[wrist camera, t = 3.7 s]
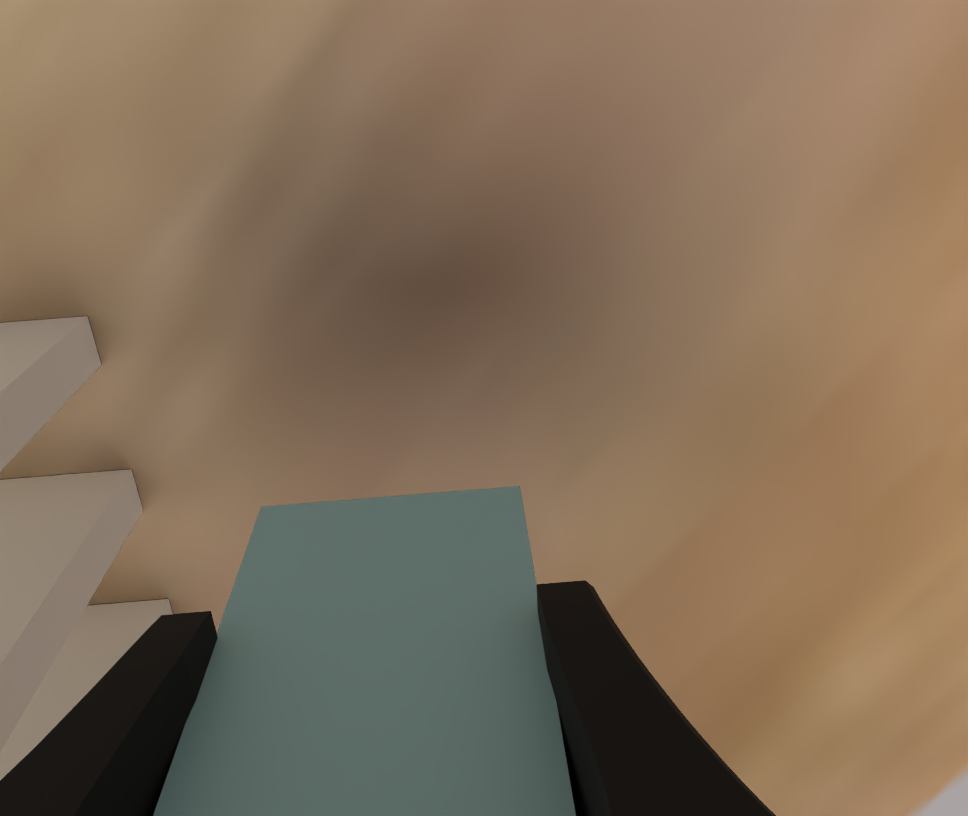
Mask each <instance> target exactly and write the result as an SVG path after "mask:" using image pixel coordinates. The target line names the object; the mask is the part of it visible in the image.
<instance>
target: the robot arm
mask: <svg viewBox="0 0 968 816" xmlns="http://www.w3.org/2000/svg"><path fill="white" fill-rule="evenodd" d="M536 586H537V610H538V617H539V623H540V629H541V635H542V641H543V647H544V653H545V660H546V666H547V671H548V674H549V678H550V681H551V685H552V688H553V692H554V695H555V699H556V702H557V707H558V713H559V719H560V725H561V731H562V737H563V743H564V749H565V754H566V760H567V766H568V772H569V778H570V784H571V790H572V796H573V801H574V807H575V813H576V816H776V815H775V814H774V813H773V812H772V811H771V810H770V809H768V808H767V807H766V806H765V805H764V804H763V803H762V802H761V801H760V800H759V798H758V797H757V796H756V795H755V794H754V793H753V792H752V791H751V790H750V789H749V788H748V787H747V786H746V785H745V784H744V783H743V782H742V781H741V780H740V779H739V778H738V776H737V775H736V774H735V773H734V772H733V771H732V770H731V769H730V768H729V767H728V766H727V765H726V763H725V762H724V761H723V760H722V759H721V758H720V757H719V756H718V754H717V753H716V752H715V751H714V750H713V749H712V748H711V747H710V745H709V744H708V743H707V742H706V741H705V740H704V739H703V737H702V736H701V735H700V734H699V733H698V732H697V731H696V729H695V728H694V727H693V726H692V725H691V723H690V722H689V721H688V720H687V719H686V717H685V716H684V715H683V714H682V713H681V711H680V710H679V709H678V708H677V706H676V705H675V704H674V703H673V701H672V700H671V699H670V697H669V696H668V695H667V694H666V692H665V691H664V690H663V689H662V687H661V686H660V685H659V683H658V682H657V681H656V680H655V678H654V677H653V676H652V675H651V673H650V672H649V671H648V669H647V668H646V667H645V665H644V664H643V662H642V661H641V660H640V658H639V657H638V656H637V654H636V653H635V651H634V650H633V649H632V647H631V646H630V644H629V643H628V641H627V640H626V638H625V637H624V636H623V634H622V633H621V631H620V630H619V628H618V627H617V625H616V624H615V622H614V621H613V619H612V617H611V616H610V614H609V613H608V611H607V609H606V608H605V606H604V604H603V603H602V601H601V599H600V598H599V596H598V594H597V592H596V590H595V589H594V587H593V586H591V585H590V584H589V583H588V582H587V581H574V582H561V583H549V584H537V585H536ZM217 638H218V637H217V633H216V629H215V625H214V622H213V618H212V614H211V611H206V612H194V613H182V614H170V615H161V616H160V617H159V618H158V619H157V620H156V621H155V622H154V623H153V624H152V625H151V626H150V627H149V628H148V629H147V630H146V631H145V632H144V634H143V635H142V636H141V637H140V638H139V639H138V640H137V641H136V642H135V643H134V644H133V645H132V646H131V647H130V648H129V649H128V651H127V652H126V653H125V654H124V655H123V656H122V657H121V658H120V659H119V660H118V661H117V662H116V663H115V664H114V665H113V667H112V668H111V669H110V670H109V671H108V672H107V673H106V674H105V675H104V676H103V677H102V678H101V679H100V680H99V681H98V682H97V684H96V685H95V686H94V687H93V688H92V689H91V690H90V691H89V692H88V693H87V694H86V695H85V696H84V697H83V698H82V699H81V700H80V701H79V702H78V703H77V704H76V705H75V706H74V708H73V709H72V710H71V711H70V712H69V713H68V714H67V715H66V716H65V717H64V718H63V719H62V720H61V721H60V722H59V723H58V724H57V725H56V726H55V727H54V728H53V729H52V730H51V731H50V732H49V733H48V734H47V735H46V736H45V737H44V739H43V740H42V741H41V742H40V743H39V744H38V745H37V746H36V747H35V748H34V749H33V750H32V751H31V752H29V753H28V754H27V755H26V756H25V757H24V758H23V759H22V760H21V761H20V762H19V763H18V764H17V765H16V766H15V767H14V768H13V769H12V770H11V771H10V772H9V773H7V774H6V775H5V776H4V777H3V778H2V779H1V780H0V816H153V814H154V812H155V809H156V806H157V803H158V800H159V797H160V795H161V792H162V789H163V786H164V783H165V780H166V777H167V775H168V772H169V769H170V766H171V763H172V760H173V757H174V755H175V752H176V749H177V746H178V743H179V740H180V737H181V735H182V732H183V729H184V726H185V723H186V721H187V719H188V717H189V714H190V712H191V710H192V708H193V706H194V704H195V701H196V699H197V696H198V693H199V690H200V688H201V685H202V682H203V679H204V676H205V673H206V670H207V667H208V664H209V662H210V659H211V656H212V653H213V650H214V647H215V644H216V641H217Z"/></svg>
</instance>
